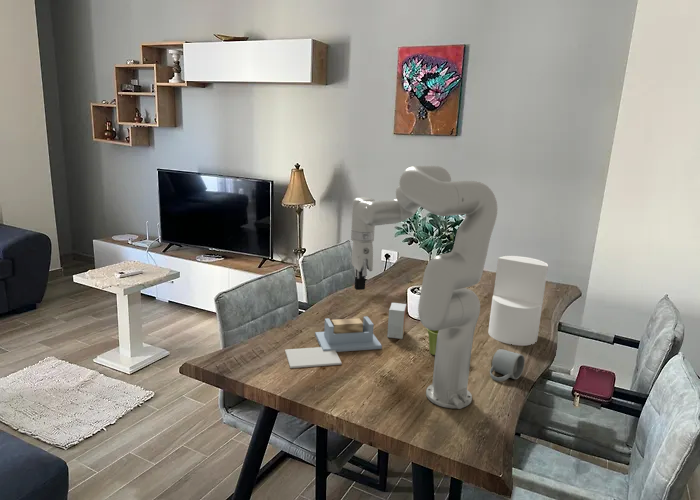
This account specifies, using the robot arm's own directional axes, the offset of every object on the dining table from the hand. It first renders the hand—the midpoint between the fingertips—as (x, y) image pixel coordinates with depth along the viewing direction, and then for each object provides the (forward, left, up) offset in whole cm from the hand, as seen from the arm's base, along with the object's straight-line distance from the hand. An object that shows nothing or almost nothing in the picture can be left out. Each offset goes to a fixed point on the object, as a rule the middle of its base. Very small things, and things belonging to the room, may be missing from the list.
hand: (359, 288), depth 172 cm
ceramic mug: (-31, -39, -19) cm, 53 cm away
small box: (+4, -16, -19) cm, 25 cm away
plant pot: (-13, -25, -19) cm, 34 cm away
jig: (0, +3, -19) cm, 19 cm away
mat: (-10, +17, -19) cm, 28 cm away
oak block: (0, +4, -15) cm, 15 cm away
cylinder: (-4, -58, -19) cm, 62 cm away
